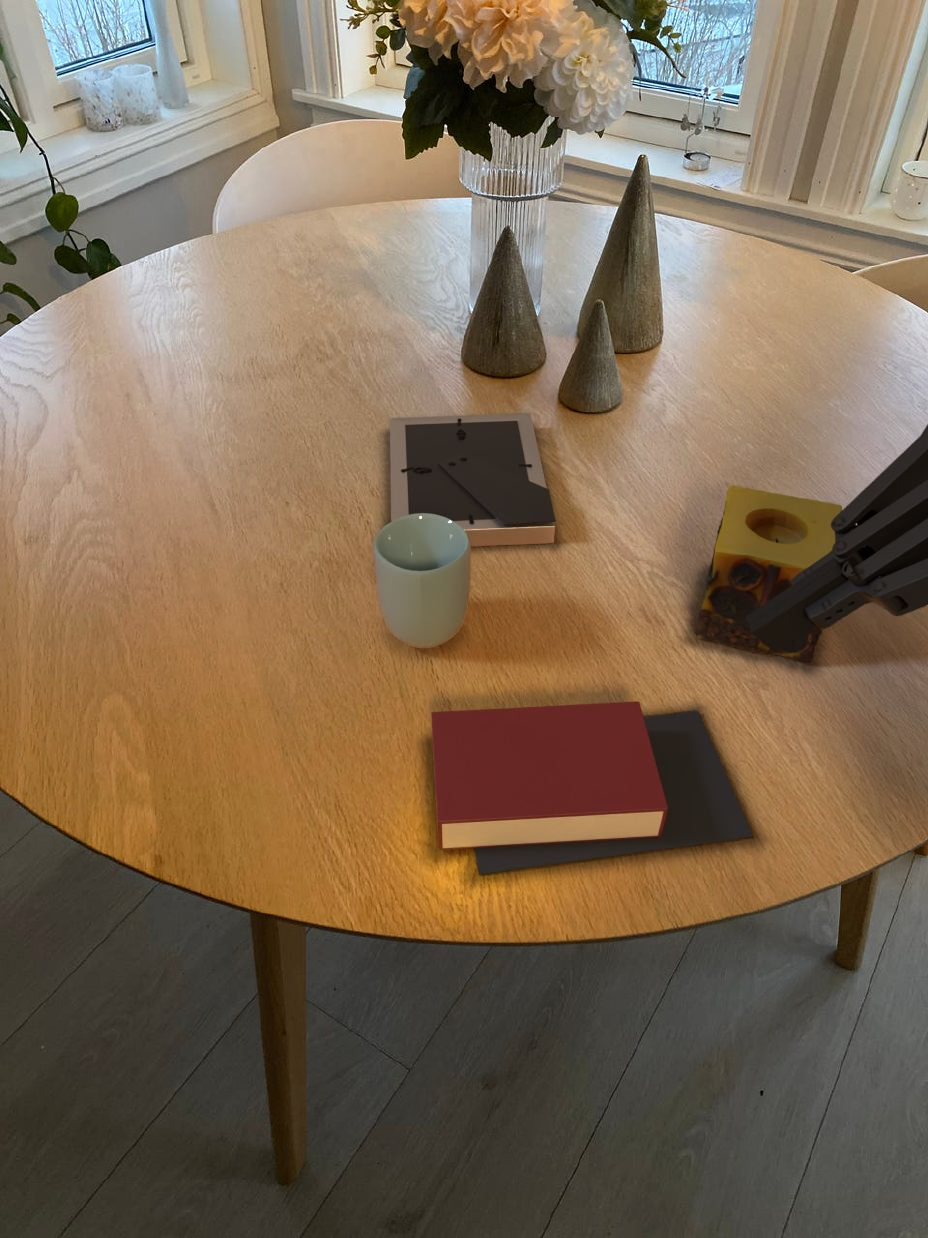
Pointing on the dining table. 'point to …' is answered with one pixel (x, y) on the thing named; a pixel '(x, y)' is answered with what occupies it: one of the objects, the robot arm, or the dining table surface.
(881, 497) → the robot arm
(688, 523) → the dining table surface
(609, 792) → the book
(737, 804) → the mat
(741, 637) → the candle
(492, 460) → the picture frame
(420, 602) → the cup
